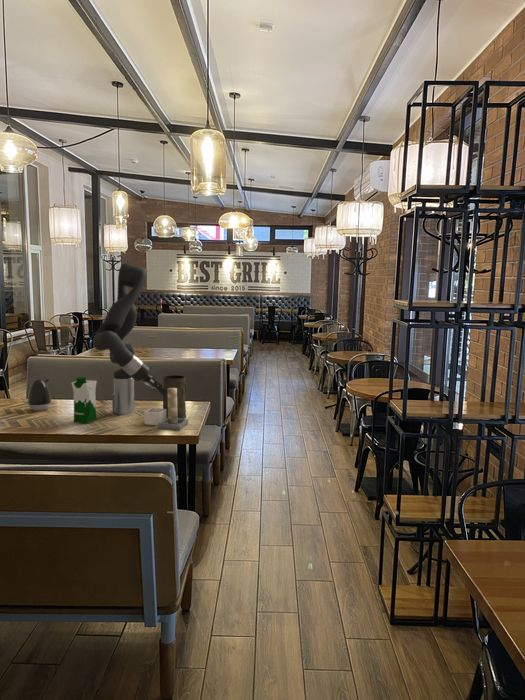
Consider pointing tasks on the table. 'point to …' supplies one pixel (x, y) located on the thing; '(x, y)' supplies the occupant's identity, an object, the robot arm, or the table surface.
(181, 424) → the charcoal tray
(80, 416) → the milk carton
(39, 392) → the dark grey rounded piece
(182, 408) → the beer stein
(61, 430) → the table surface
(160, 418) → the light grey square box
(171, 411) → the birch pin
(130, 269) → the robot arm
